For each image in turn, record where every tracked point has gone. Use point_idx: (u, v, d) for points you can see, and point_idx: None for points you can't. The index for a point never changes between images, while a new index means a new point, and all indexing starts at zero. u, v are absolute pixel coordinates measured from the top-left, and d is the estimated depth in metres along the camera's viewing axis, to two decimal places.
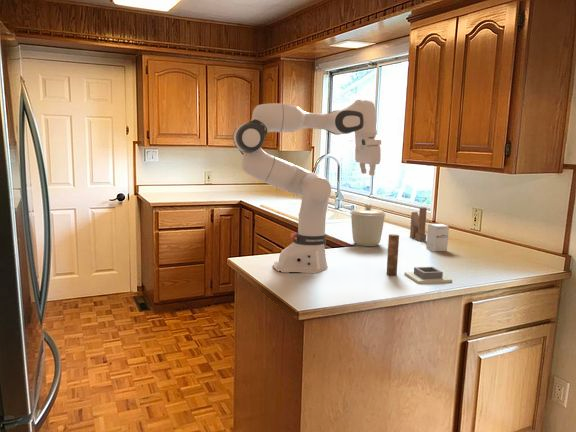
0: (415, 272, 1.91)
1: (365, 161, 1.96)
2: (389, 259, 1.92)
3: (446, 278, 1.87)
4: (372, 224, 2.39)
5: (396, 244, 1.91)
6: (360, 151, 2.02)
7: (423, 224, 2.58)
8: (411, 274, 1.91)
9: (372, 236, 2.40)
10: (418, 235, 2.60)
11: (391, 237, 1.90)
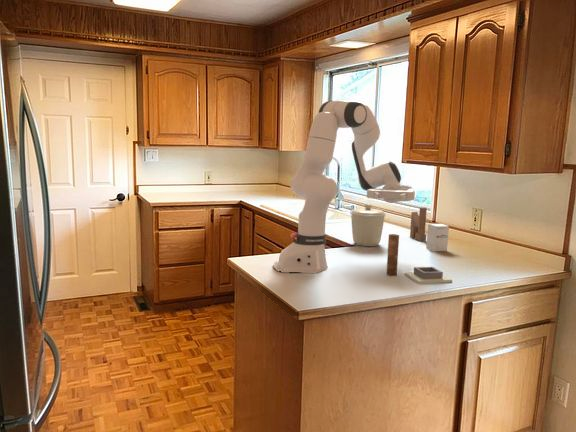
0: (415, 272, 1.91)
1: (397, 190, 2.07)
2: (389, 259, 1.92)
3: (446, 278, 1.87)
4: (372, 224, 2.39)
5: (396, 244, 1.91)
6: (383, 190, 2.12)
7: (423, 224, 2.58)
8: (411, 274, 1.91)
9: (372, 236, 2.40)
10: (418, 235, 2.60)
11: (391, 237, 1.90)
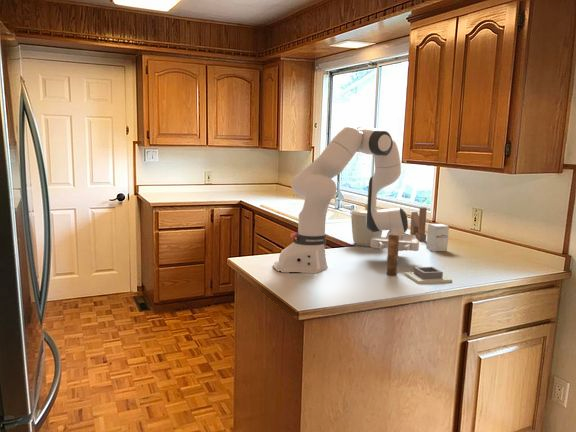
0: (415, 272, 1.91)
1: (401, 241, 2.06)
2: (389, 259, 1.92)
3: (446, 278, 1.87)
4: None
5: (396, 244, 1.91)
6: (387, 239, 2.11)
7: (423, 224, 2.58)
8: (411, 274, 1.91)
9: (372, 236, 2.40)
10: (418, 235, 2.60)
11: (391, 237, 1.90)
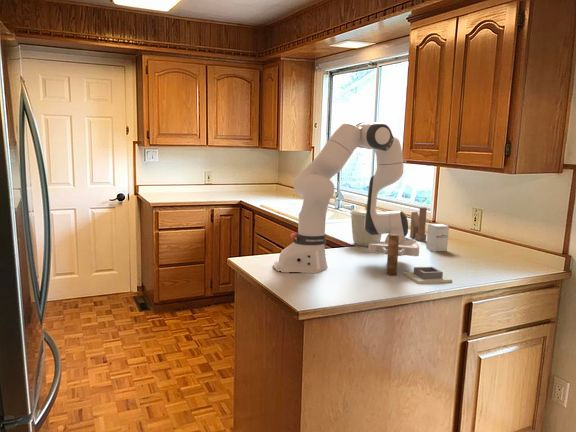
0: (415, 272, 1.91)
1: (401, 246, 1.96)
2: (389, 259, 1.92)
3: (446, 278, 1.87)
4: None
5: (396, 244, 1.91)
6: (386, 243, 2.02)
7: (423, 224, 2.58)
8: (411, 274, 1.91)
9: (372, 236, 2.40)
10: (418, 235, 2.60)
11: (391, 237, 1.90)
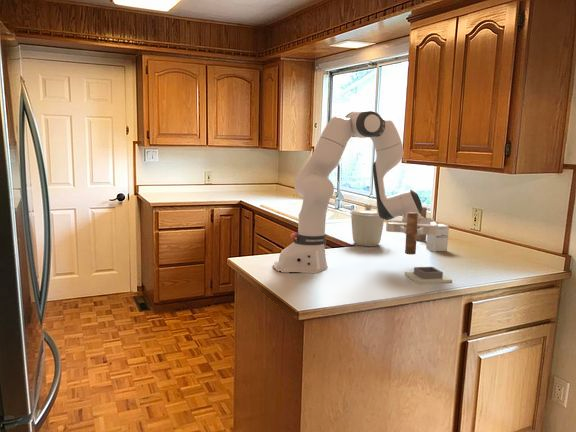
0: (415, 272, 1.91)
1: (419, 224, 1.93)
2: (408, 237, 1.89)
3: (446, 278, 1.87)
4: (372, 224, 2.39)
5: (415, 222, 1.87)
6: (403, 222, 1.98)
7: None
8: (411, 274, 1.91)
9: (372, 236, 2.40)
10: (418, 235, 2.60)
11: (410, 215, 1.87)
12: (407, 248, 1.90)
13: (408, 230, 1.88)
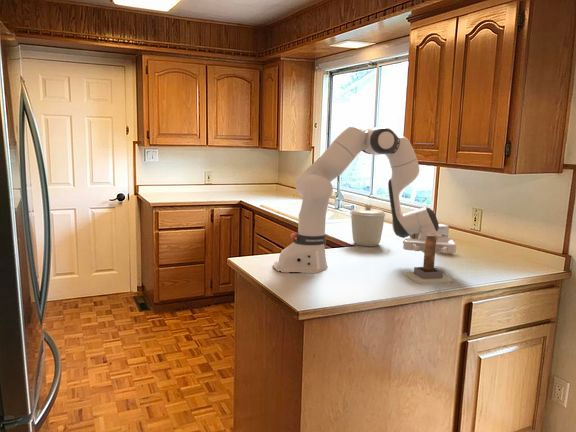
0: (415, 272, 1.91)
1: (437, 243, 1.92)
2: (426, 260, 1.87)
3: (446, 278, 1.87)
4: (372, 224, 2.39)
5: (433, 245, 1.86)
6: (421, 240, 1.97)
7: None
8: (411, 274, 1.91)
9: (372, 236, 2.40)
10: (418, 235, 2.60)
11: (428, 237, 1.86)
12: (425, 271, 1.88)
13: (426, 253, 1.87)
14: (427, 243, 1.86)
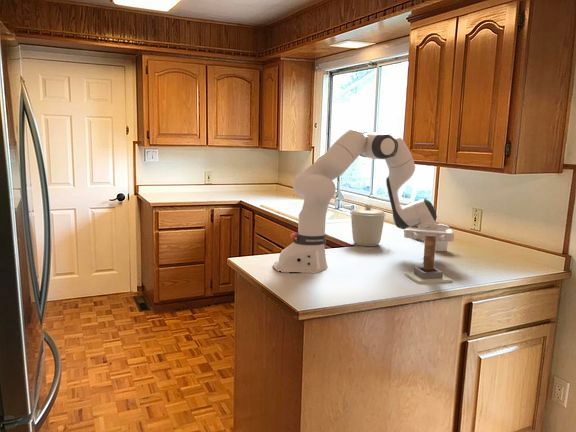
0: (415, 272, 1.91)
1: (436, 231, 2.03)
2: (426, 260, 1.87)
3: (446, 278, 1.87)
4: (372, 224, 2.39)
5: (433, 245, 1.86)
6: (420, 229, 2.09)
7: None
8: (411, 274, 1.91)
9: (372, 236, 2.40)
10: None
11: (428, 238, 1.86)
12: (425, 271, 1.88)
13: (426, 253, 1.87)
14: (427, 243, 1.86)
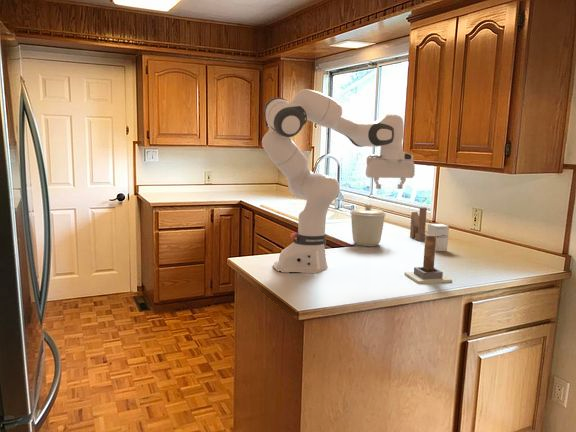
0: (415, 272, 1.91)
1: (398, 175, 1.99)
2: (426, 260, 1.87)
3: (446, 278, 1.87)
4: (372, 224, 2.39)
5: (433, 245, 1.86)
6: (384, 166, 1.97)
7: (423, 224, 2.58)
8: (411, 274, 1.91)
9: (372, 236, 2.40)
10: (418, 235, 2.60)
11: (428, 238, 1.86)
12: (425, 271, 1.88)
13: (426, 253, 1.87)
14: (427, 243, 1.86)
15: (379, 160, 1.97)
